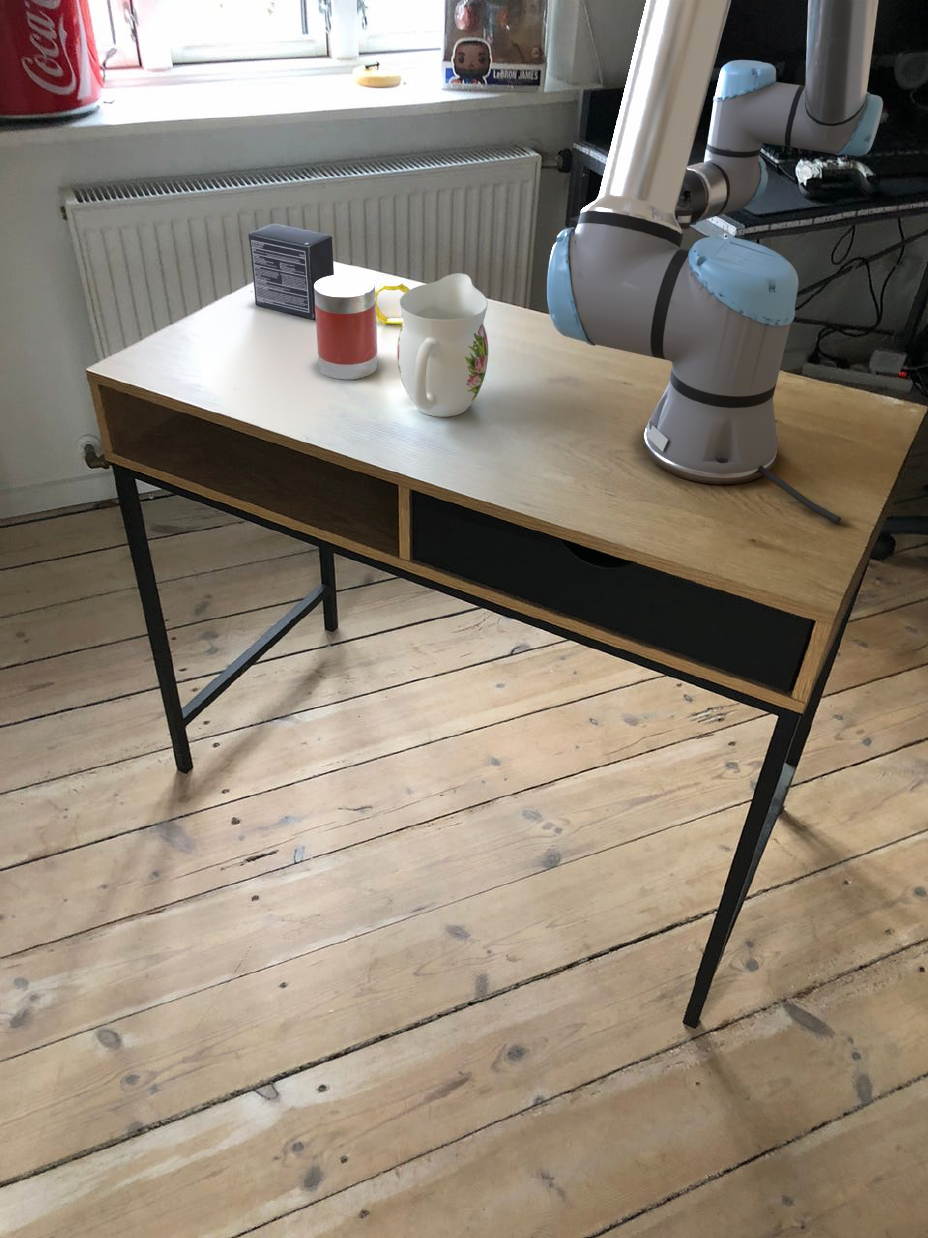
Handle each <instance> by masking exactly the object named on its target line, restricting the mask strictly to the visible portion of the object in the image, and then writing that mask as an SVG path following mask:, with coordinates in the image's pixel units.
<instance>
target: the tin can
mask: <svg viewBox="0 0 928 1238" xmlns="http://www.w3.org/2000/svg"><path fill="white" fill-rule="evenodd" d="M314 293H315V316H316V318H315V328H316V329H315V330H316V331H315V332H316V345H317V354H318V364H319V365H318V366H319V367H318V368H319V371H320V372H321V374H323V375H325V376H327V377H329V378H332V379H336V380H343V381H344V380H345V381H350V380H352V381H353V380H359V379H363V378H367V377H370V376H371V375H373V374H374V373H375V372H376V371H377V368H378V333H377V332H378V331H377V330H378V329H377V316H376V301H375V293H376V285H375V283H374V281H373V280H371V279H370V278H367V277H365V276H361V275H356V274H334V275H333V276H328V277H325V278H322V279H320V280H318V281H317V282H316V283H315V285H314Z"/></svg>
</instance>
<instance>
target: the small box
mask: <svg viewBox="0 0 928 1238" xmlns="http://www.w3.org/2000/svg"><path fill="white" fill-rule="evenodd" d="M247 234H248V241H249V249H250V259H251V270H252V271H251V272H252V280H253V290H254V291H253V292H254V304H255V306H257V307H260V308H261V307H262V308H265V309H270V310H273V311H278V312H282V313H286V314H291V315H294V316H299V317H303V318H306V319H310V320H313V319H316V316H315V293H314V285H315V283H316V282H317V281H318V280H320V279H322V278H325V277H328V276H333V275H335V268H334V248H333V235H332V234H328V233H322V232H318V231H313V230H308V229H303V228H298V227H293V226H288V225H284V224H280V223H279V224H278V223H270V224H268V225H266V226H263V227H261V228H259V229H256V230H254V231H251V232H249V233H247Z"/></svg>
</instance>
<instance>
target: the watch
mask: <svg viewBox="0 0 928 1238" xmlns="http://www.w3.org/2000/svg"><path fill="white" fill-rule="evenodd" d="M383 290H386V291H398V290H399V291H401V292H403V293H404V294H405V293H406V292H408V291H409V290H411V289H410V288H409V287H408V286H406V285H404V284H403V281H402V279H399V278H389V279H384V280H383V281H382V284H381V285H380V286H379V287H378V288H377V290H375V301H376V318H377V320H379V321H381V322H382V323H383V324H384V325H388V324H389V325H402V324H403V319H402V318H388V317H387V316H386V315H384V314H383V313H382V312H381V310H380V308H379V306H378V295H379V294H380V293H381V292H383Z"/></svg>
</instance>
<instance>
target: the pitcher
mask: <svg viewBox="0 0 928 1238" xmlns="http://www.w3.org/2000/svg"><path fill="white" fill-rule="evenodd" d="M398 302H399V308H400V313H401V319H403V324H401V326H400V330H399V334H398V337H397V347H396V350H397V353H396V355H397V365H398V371H399V375H400V378H401V382H402V385H403V388H404V390H405V392H406V395H407V396H408V398H409V400H410V401H411V402H412V404H413V405H414V406H415V407H416V409H417V410H418V411H419V412H421V413H423V414H425V415H428V416H432V417H439V418H440V417H441V418H444V417H445V418H446V417H453V416H458V415H460V414H463V413H464V412H466V411H467V410H468V409H469V407H470V406H471V405H472V404H473V402H474V401H475V399H476V398H477V396H478V395H479V392H480V390H481V388H482V385H483V382H484V380H485V378H486V377H485V376H486V372H487V368H488V361H489V341H488V336H487V331H486V328H485V324H484V323H485V318H486V313H487V310H488V299H487V297H486V296H485V294H483V292H481V290H479V289H477V288H476V287H475V286H474V284H473V281H472V279H471V277H470V275H468V274H466V273H462V272H456V273H451V274H448V275H446V276H443V277H442V278H440V279H438V280H435V281H433V282H429V283H425V284H422V285H419V286H416V287H413V288H411V289H410V290H409V291H408V292H406V293H404V294H403V295H402V296H401V297H400V299H399V301H398Z"/></svg>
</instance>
